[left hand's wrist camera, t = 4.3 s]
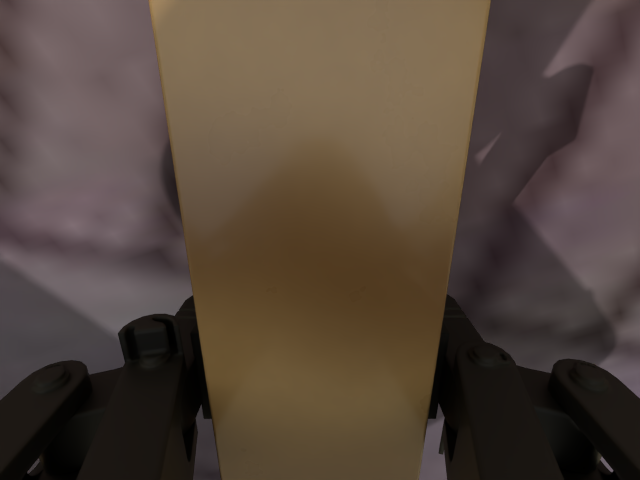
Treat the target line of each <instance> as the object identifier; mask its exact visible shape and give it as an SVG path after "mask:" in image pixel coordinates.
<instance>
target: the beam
mask: <svg viewBox="0 0 640 480" xmlns="http://www.w3.org/2000/svg"><path fill="white" fill-rule="evenodd" d="M490 3H491V0H149V6H150V13H151V19H152V26H153V33H154V39H155V46H156V53H157V59H158V66H159V72H160V79H161V86H162V92H163V99H164V105H165V112H166V119H167V125H168V132H169V138H170V145H171V152H172V158H173V165H174V172H175V178H176V185H177V191H178V198H179V205H180V211H181V218H182V224H183V231H184V238H185V244H186V251H187V258H188V264H189V271H190V277H191V284H192V291H193V297H194V304H195V310H196V317H197V324H198V330H199V337H200V344H201V350H202V357H203V363H204V370H205V377H206V383H207V390H208V396H209V403H210V410H211V416H212V423H213V430H214V436H215V443H216V449H217V456H218V463H219V469H220V476H221V480H419V474H420V467H421V461H422V454H423V447H424V441H425V434H426V427H427V421H428V414H429V408H430V401H431V394H432V388H433V381H434V374H435V368H436V361H437V354H438V348H439V341H440V335H441V328H442V321H443V315H444V308H445V301H446V295H447V288H448V281H449V275H450V268H451V262H452V255H453V248H454V242H455V235H456V228H457V222H458V215H459V208H460V202H461V195H462V189H463V182H464V175H465V169H466V162H467V155H468V149H469V142H470V135H471V129H472V122H473V116H474V109H475V102H476V96H477V89H478V82H479V76H480V69H481V63H482V56H483V49H484V43H485V36H486V29H487V23H488V16H489V9H490Z"/></svg>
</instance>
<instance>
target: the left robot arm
mask: <svg viewBox="0 0 640 480" xmlns="http://www.w3.org/2000/svg"><path fill="white" fill-rule="evenodd" d="M118 336H119V340H120V344H121V348H122V352H123V356H124V360H125V364H124V367H121V368H118V369H114V370H109V371H105V372H100V373H95V374H91V375H89V373H88V370H87V366H86V365H85V364H83V363H82V362H80V361H74V360H70V361H62V362H57V363H54V364H50V365H48V366H45V367H43V368H41V369H39V370H37V371H35V372H33V373H32V374H31V375H29V376H28V377H27V378H25V379H24V380H22V381H21V382H20V383H19V384H18V385H17V386H16V387H15V388H14V389H13V390H11V391H10V392H9V393H8V394H7V395H6V396H5V397H4V398H3V399H2V400H0V480H193V473H194V463H195V454H196V444H197V434H198V431H197V424H196V419H195V418H196V416H197V413H198V411H199V408H200V406H201V404H202V410H203V416H204V419H212V416H211V410H210V403H209V396H208V390H207V383H206V377H205V370H204V363H203V357H202V350H201V344H200V337H199V330H198V324H197V317H196V310H195V304H194V297H193V296H191V297H190V298H188V299H187V300H186V301H185V302H184V303H183V305H182V306H181V308H180V309H179V311H178V312H177V313H176V315H175V316H172V315H168V314H153V315H148V316H143V317H141V318H138V319H136V320H133V321H131V322H130V323H128V324H127V325H125V326H124V327H123V328H122V329H121V330H120V332H119V333H118ZM438 402H439V404H440V407H441V409H442V412H443V414H444V417H445V419H444V424H443V430H442V436H441V442H440V448H439V454H443V452H444V453H445V462H446V472H447V480H640V398H638V397H637V396H636V395H635V394H634V393H633V392H632V391H631V390H630V389H629V388H627V387H626V386H625V385H624V384H623V383H622V382H621V381H620V380H619V379H617V378H616V377H615V376H613V375H612V374H610V373H609V372H608V371H606V370H604V369H602V368H600V367H598V366H596V365H594V364H591V363H589V362H585V361H581V360H575V359H563V360H559V361H557V362H556V363H555V364H554V365H553V369H552V372H551V373H547V372H542V371H537V370H533V369H528V368H524V367H520V366H517V365H516V364H515V362H514V360H513V359H512V357H511V356H510V355H509V354H508V353H507V352H505V351H504V350H503V349H501V348H499V347H497V346H495V345H493V344H490V343H486V342H484V341H483V339H482V338H481V336H480V335H479V333H478V332H477V331H476V329H475V328H474V326H473V325H472V324H471V322H470V321H469V319H468V318H466V315H465V314H464V312H463V311H462V310H461V308H460V307H459V305H458V304H457V302H456V301H455V299H453V298H452V297H450V296H449V295H446V301H445V308H444V315H443V321H442V328H441V335H440V341H439V348H438V354H437V361H436V368H435V374H434V381H433V388H432V394H431V401H430V408H429V414H428V419H436V415H437V409H438ZM601 456H602V457H603V458H604V459H605V460H606V462H607V463H608V464H609V465H610V467H611V468H612V469H613V470H614V471H613V472H610V471H609V470H608V469H607V468H606V467H605V465H604V464H603V463H602V462H601V460H600V459H601ZM38 458H39V460H40V462H39V463H38V465H37V466H36V467H35V468H34V469H33V470H32V471H31V472H30V473H29V474H28V473H27V471H28V470H29V469H30V468H31V466H32V465H33V464H34V463H35V461H36V460H37V459H38Z"/></svg>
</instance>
